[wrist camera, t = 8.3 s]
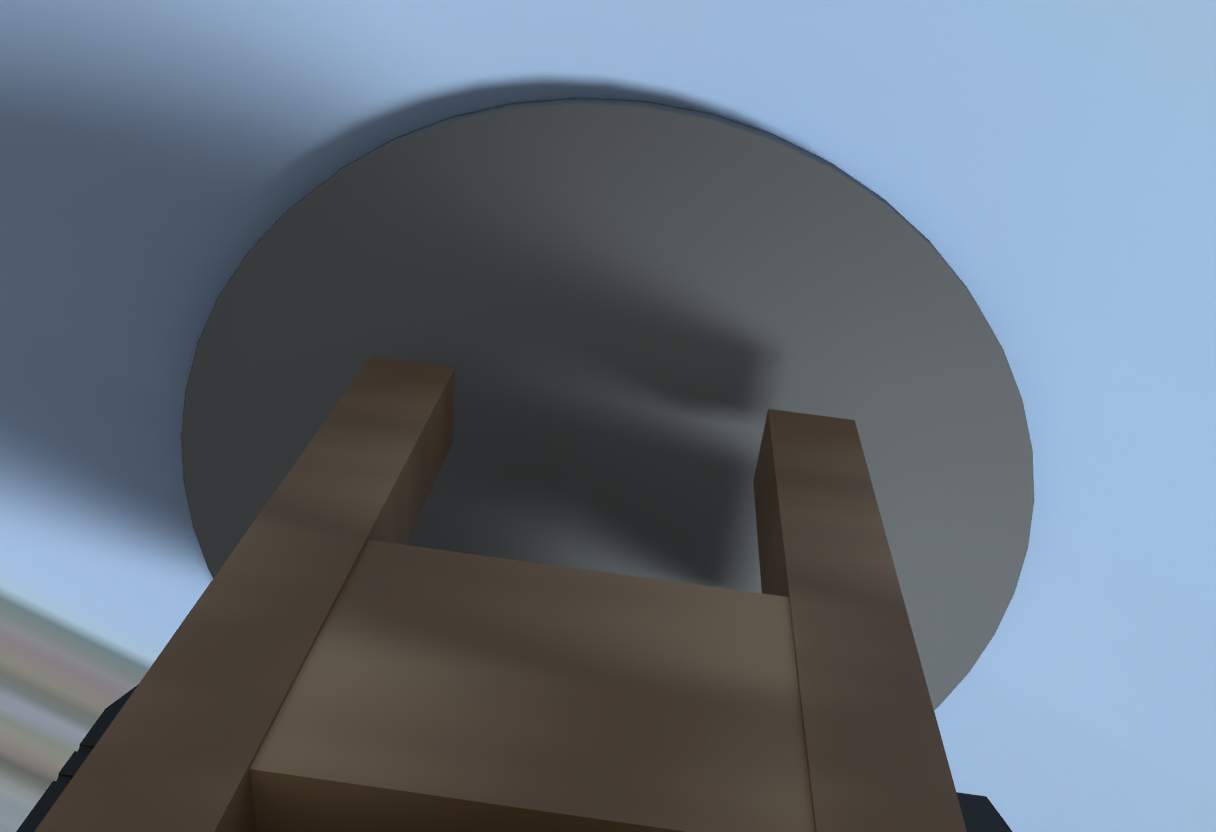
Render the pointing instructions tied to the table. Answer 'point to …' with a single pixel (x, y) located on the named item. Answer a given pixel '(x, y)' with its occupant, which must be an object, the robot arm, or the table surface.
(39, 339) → the table surface
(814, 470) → the stool
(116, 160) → the table surface
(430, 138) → the mat
